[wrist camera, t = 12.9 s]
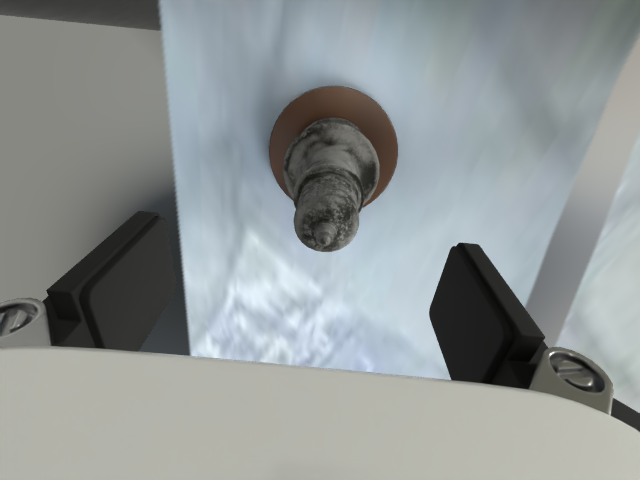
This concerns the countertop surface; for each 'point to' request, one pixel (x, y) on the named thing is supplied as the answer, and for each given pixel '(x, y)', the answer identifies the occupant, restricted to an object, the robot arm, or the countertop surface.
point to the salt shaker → (330, 182)
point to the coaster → (337, 105)
